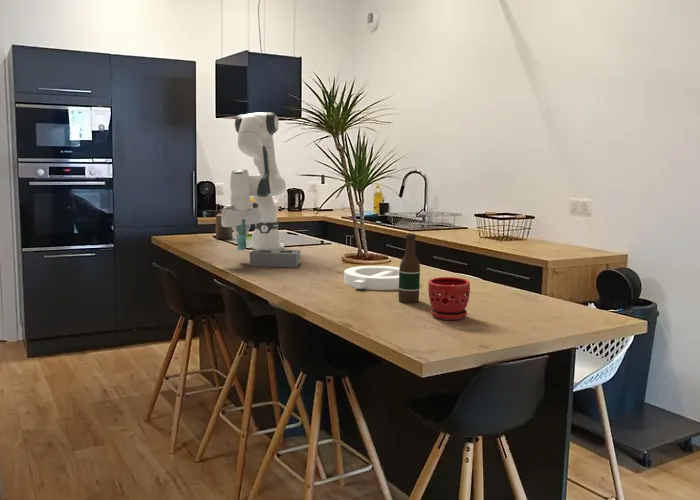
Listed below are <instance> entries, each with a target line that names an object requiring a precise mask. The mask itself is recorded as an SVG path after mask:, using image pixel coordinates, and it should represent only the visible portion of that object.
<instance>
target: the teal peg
mask: <svg viewBox="0 0 700 500" xmlns="http://www.w3.org/2000/svg"><path fill="white" fill-rule="evenodd" d="M236 229H237V231H238V232H239V235H238V236H236V238H237V240H236V244H237V248H236V249H237V250H238V251H245V250H247V234H246V225H245V219H243V220H242V225H240V226H237V228H236Z"/></svg>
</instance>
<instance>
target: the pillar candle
mask: <svg viewBox="0 0 700 500" xmlns="http://www.w3.org/2000/svg"><path fill="white" fill-rule="evenodd" d="M221 216H222V214H215V239H217V240H232V239H233V237H234V231H233V229H232V227H223V226H222V225H221Z"/></svg>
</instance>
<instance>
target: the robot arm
mask: <svg viewBox="0 0 700 500" xmlns="http://www.w3.org/2000/svg"><path fill="white" fill-rule="evenodd" d="M277 115H278V114H276V113H275V112H270V111H268V112H260V111H259V112H257V111H256V112H251V113H246V114H245V113H241V114H238V115H237V116H236V118H235V120H234V129H235V132H237V133H238V134H237V147H238V149H239V150H240V152H241V153H243V154H244V155H246V156H248V157H251V158H253V164H254V165H255V167H256V168H257V170H258V172H259V173H257V174H254V175H249V171H248V169H244V168H238V169H237V168H236V169H233V170H232V171H231V174H230V182H229V183H230V184H229V185H230V188H229V189H230V192H231V195H230V205H229V206H227V205H226V206H223V208H222V209H221V215H222V216H221V225H222V226H223V227H232V229H233V236H235V237H237V236H238V235H239V232H238V231H237V226H240V225H242V220H243V219H245V225H246V235H249V230H250V229H251V225H254V228H255V229H254V230H253V231H252V233H251V244H250V245H249V246H248V248H249V249H253V250H254V249H284V250H285V246H284V245H285V244H284V243H283V242H282V239H281V232H280V231H279V222H278V208H277V205H276V203H275V202H274V198H273V197H276V196H280V195H282V194H283V193H284V192H285V190H286V187H287V185H286V181H285V179H284V178H283V177H282V175H281V173H280V172H279V169H278V166H277V165H278V164H277V161H276V155H275V145H274V143H275V142H274V138H273V137H274V134H275V133H276V132H277V131H278V129H279V125H280V124H279V121H280V120H279V118H278V116H277ZM251 197H253V200H254V201H252V200H251Z"/></svg>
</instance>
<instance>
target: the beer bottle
mask: <svg viewBox="0 0 700 500" xmlns="http://www.w3.org/2000/svg"><path fill="white" fill-rule="evenodd" d="M416 237H417V236H416V233H411V232H410V233H406V234H405V238H406V239H405V249H404V250H405V251H404V256H403V257H402V259H401V261H400V263H399V267H400V269H399V289H398V302H399V303H402V304H416V303H419V302H420V301H419V300H420V277H421V267H420V266H421V264H420V261H419V259H418V257H417V253H416Z"/></svg>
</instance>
